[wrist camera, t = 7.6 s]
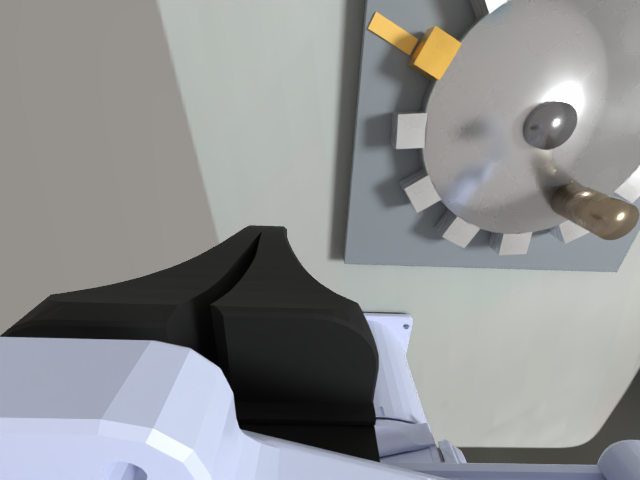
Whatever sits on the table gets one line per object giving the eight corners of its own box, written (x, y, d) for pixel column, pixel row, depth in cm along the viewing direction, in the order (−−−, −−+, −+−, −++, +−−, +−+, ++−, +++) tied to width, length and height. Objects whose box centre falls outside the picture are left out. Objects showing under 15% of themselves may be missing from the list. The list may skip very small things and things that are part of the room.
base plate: (605, 265, 24) (618, 272, 23) (343, 256, 24) (344, 264, 23) (789, -93, 15) (821, -105, 14) (375, -118, 15) (379, -133, 14)
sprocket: (750, 53, 17) (901, 43, 13) (533, 278, 23) (583, 324, 19) (524, -146, 14) (624, -255, 9) (342, 180, 20) (349, 208, 15)
